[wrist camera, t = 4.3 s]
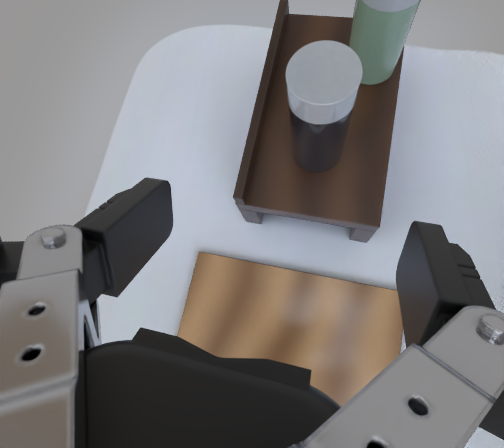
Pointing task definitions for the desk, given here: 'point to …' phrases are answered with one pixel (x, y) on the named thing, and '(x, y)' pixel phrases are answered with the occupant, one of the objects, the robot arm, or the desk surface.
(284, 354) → the wooden board
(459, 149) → the desk surface
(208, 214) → the desk surface
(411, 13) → the salt shaker
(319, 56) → the pepper shaker
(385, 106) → the walnut shelf
